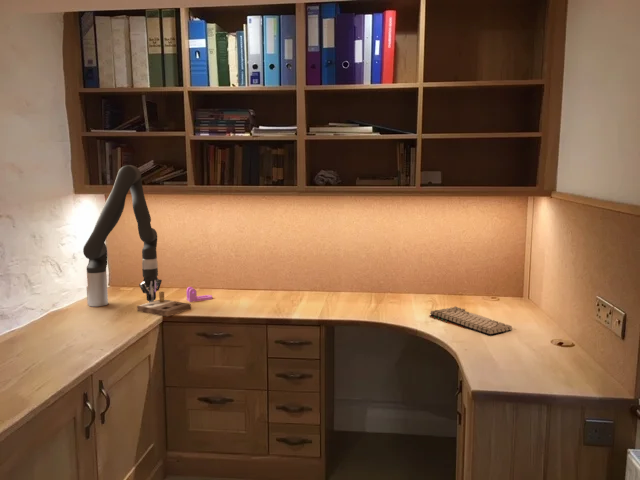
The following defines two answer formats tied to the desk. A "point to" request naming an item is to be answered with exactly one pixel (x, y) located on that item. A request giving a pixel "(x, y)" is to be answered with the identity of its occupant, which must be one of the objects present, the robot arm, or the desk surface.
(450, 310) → the mechanical keyboard
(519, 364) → the desk surface
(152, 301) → the grey metal pin
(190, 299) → the bracket
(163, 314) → the pin board
